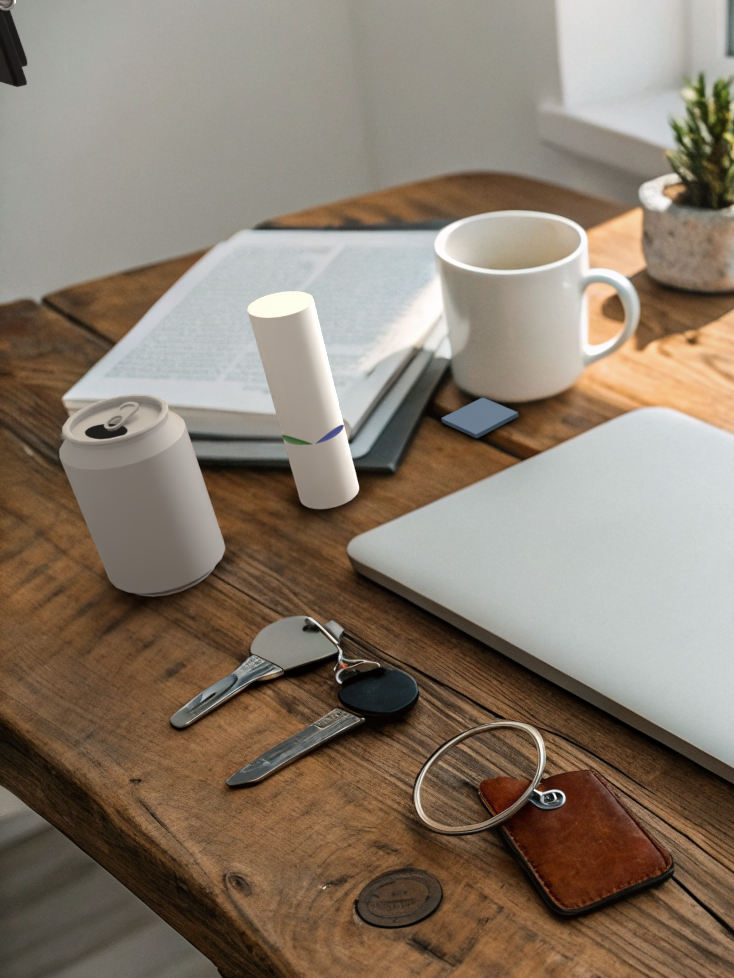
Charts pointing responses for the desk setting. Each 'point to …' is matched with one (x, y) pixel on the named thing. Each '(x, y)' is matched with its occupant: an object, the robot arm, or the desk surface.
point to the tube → (304, 397)
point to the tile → (479, 417)
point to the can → (142, 494)
